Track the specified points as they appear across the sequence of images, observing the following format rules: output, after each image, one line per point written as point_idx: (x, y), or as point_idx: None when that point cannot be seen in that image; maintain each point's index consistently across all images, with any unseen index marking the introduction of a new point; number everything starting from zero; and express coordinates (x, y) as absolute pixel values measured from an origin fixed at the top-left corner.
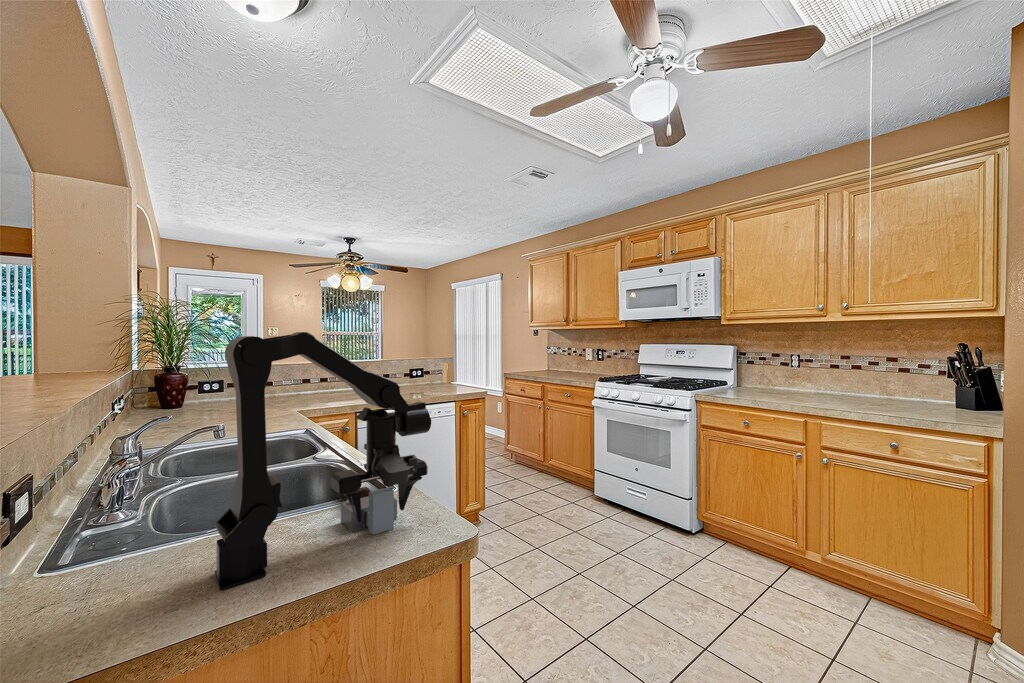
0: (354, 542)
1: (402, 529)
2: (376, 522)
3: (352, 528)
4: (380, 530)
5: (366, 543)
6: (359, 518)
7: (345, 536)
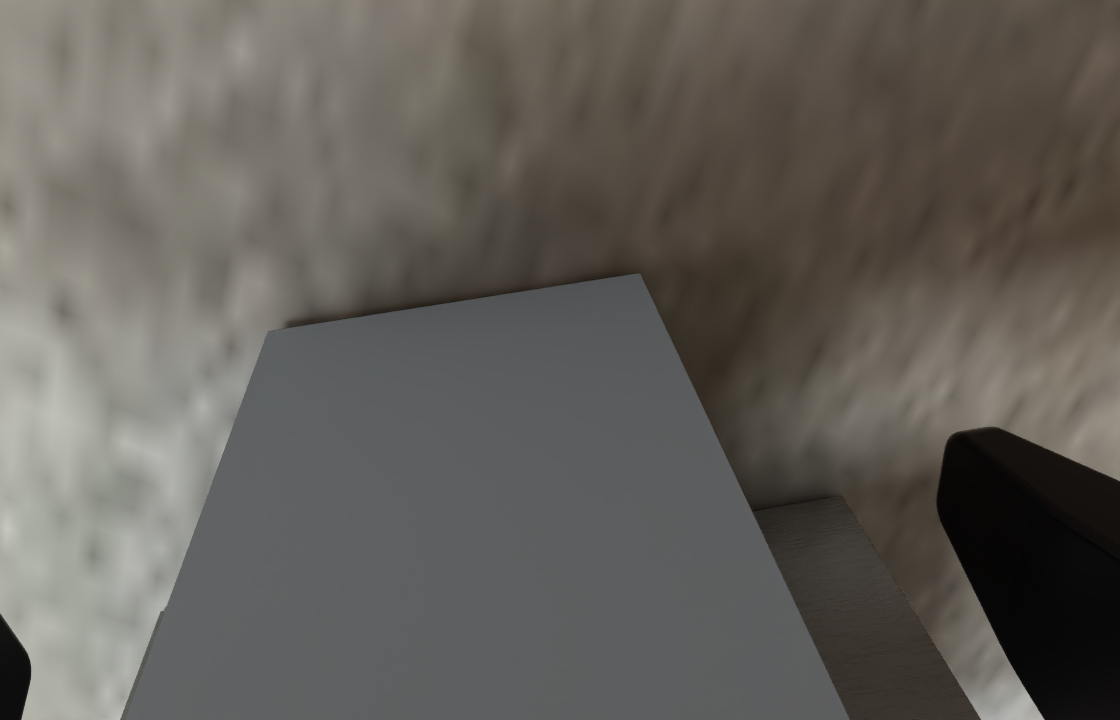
0: (961, 180)
1: (112, 243)
2: (619, 384)
3: (845, 530)
4: (515, 308)
5: (841, 32)
6: (1055, 464)
7: (951, 421)
